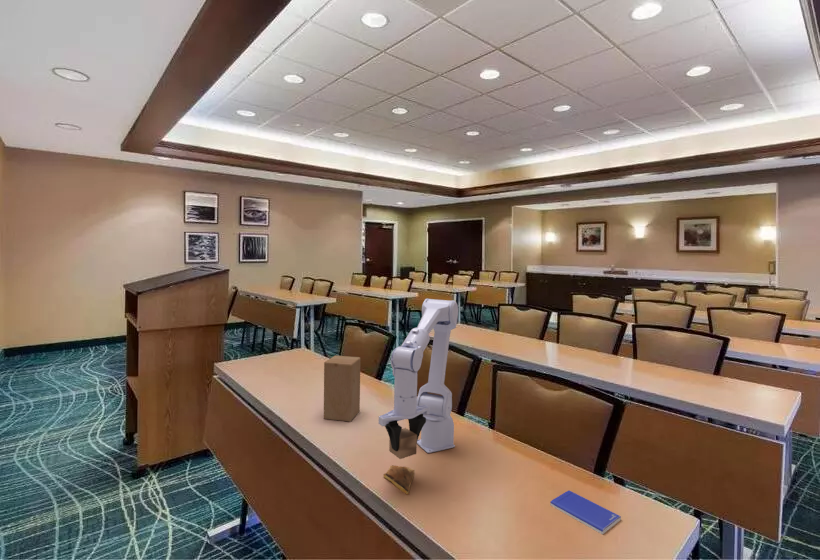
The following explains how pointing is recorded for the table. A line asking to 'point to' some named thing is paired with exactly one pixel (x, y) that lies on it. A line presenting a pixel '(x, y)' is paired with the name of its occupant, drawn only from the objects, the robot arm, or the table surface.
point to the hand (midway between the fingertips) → (404, 446)
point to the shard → (400, 477)
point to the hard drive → (585, 511)
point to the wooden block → (341, 388)
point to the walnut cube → (405, 444)
